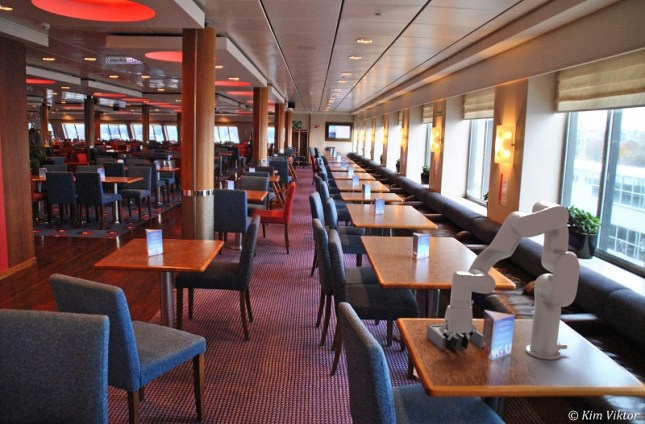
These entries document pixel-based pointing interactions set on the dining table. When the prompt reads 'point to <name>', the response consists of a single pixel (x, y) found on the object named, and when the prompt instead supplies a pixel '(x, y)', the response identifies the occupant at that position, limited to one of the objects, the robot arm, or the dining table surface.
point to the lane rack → (440, 339)
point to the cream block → (454, 339)
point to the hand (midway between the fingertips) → (456, 348)
